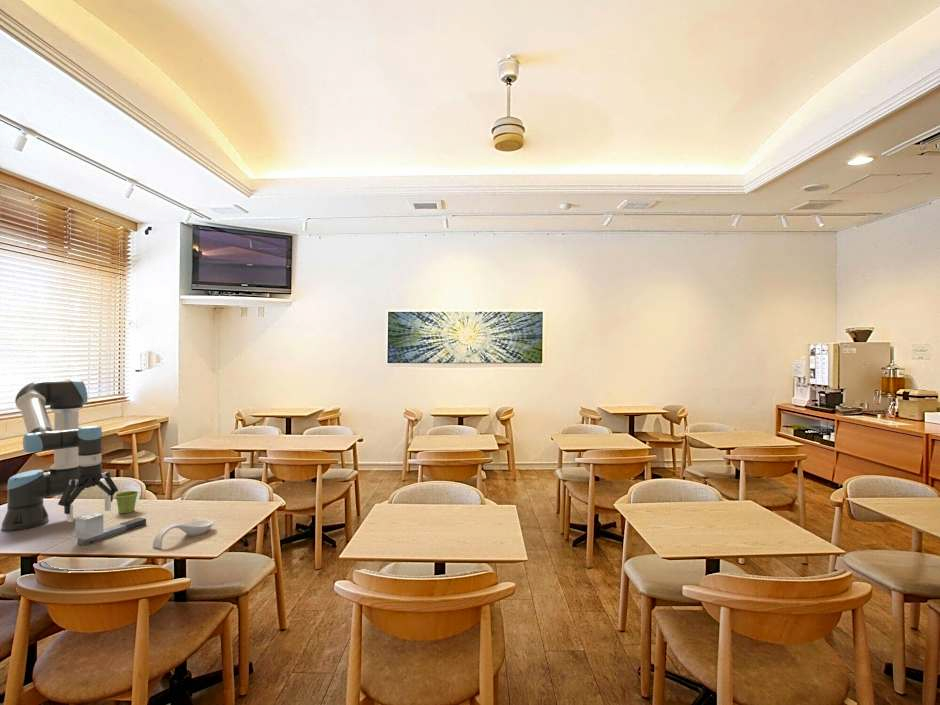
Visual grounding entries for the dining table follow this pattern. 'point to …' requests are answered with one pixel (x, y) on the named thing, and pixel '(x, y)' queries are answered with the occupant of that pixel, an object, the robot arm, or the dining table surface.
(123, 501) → the plant pot
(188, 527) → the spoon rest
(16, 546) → the dining table surface
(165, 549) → the dining table surface
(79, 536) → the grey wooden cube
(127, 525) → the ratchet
